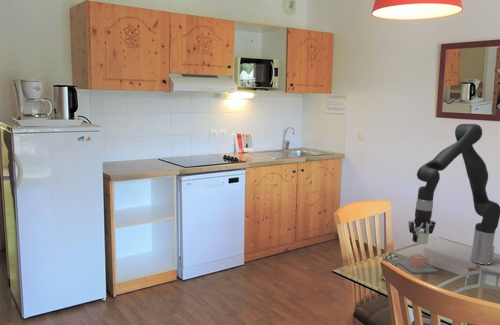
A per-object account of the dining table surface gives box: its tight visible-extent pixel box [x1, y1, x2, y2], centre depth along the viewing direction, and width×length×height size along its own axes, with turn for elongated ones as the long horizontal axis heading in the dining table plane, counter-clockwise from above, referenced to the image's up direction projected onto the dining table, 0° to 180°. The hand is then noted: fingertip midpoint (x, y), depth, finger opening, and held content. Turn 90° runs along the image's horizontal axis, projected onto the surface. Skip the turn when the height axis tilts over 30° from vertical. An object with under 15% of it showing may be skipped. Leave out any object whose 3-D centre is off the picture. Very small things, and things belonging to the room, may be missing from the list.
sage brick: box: [411, 230, 430, 245], centre depth 215 cm, size 5×5×5 cm
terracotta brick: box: [409, 253, 426, 268], centre depth 217 cm, size 5×5×5 cm
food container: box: [381, 251, 401, 277], centre depth 203 cm, size 12×6×10 cm, turn 148°
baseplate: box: [398, 259, 439, 275], centre depth 217 cm, size 14×14×1 cm
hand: (419, 241), depth 215 cm, fingers closed on sage brick, 5 cm apart
